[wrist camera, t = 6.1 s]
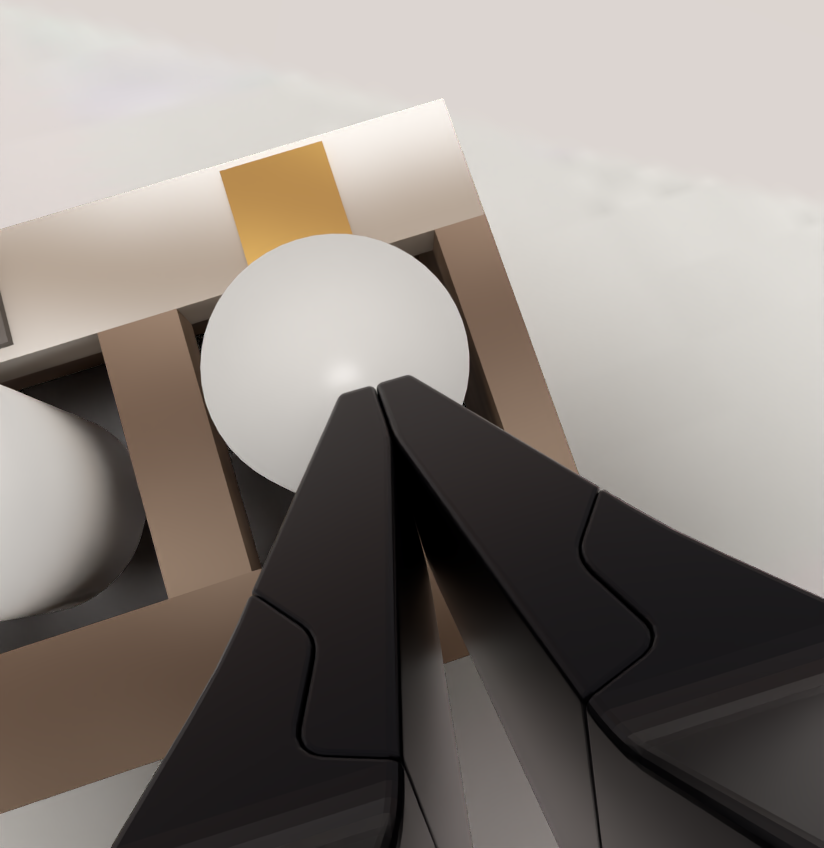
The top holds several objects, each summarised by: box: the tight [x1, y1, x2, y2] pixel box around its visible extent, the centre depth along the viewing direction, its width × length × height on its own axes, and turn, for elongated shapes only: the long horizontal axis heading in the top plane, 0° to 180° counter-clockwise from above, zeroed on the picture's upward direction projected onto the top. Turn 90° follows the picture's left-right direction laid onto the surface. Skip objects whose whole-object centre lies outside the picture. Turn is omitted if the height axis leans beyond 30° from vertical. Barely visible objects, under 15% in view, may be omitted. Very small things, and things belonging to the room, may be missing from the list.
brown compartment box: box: [0, 98, 579, 814], centre depth 17 cm, size 10×20×7 cm, turn 108°
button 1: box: [200, 234, 469, 493], centre depth 14 cm, size 4×4×4 cm
